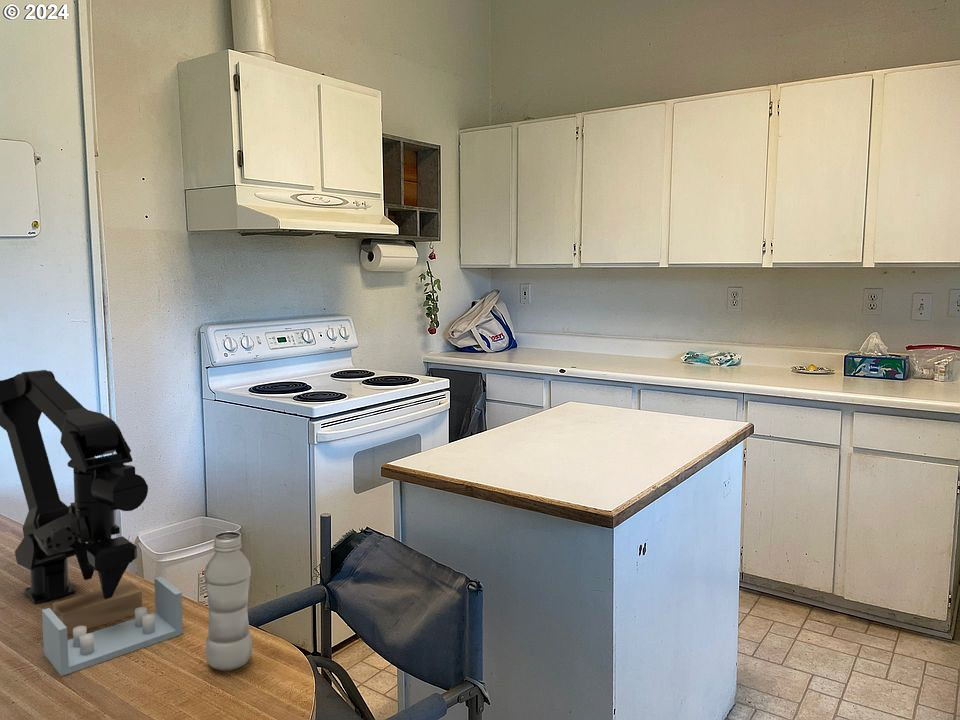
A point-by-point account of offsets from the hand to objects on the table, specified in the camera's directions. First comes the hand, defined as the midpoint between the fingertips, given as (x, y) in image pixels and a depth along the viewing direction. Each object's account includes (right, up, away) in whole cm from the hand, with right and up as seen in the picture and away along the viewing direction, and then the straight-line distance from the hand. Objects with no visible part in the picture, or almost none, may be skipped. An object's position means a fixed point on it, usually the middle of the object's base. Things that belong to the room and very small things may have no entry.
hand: (97, 588), depth 119 cm
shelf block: (0, -5, +1) cm, 6 cm away
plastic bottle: (+26, -8, -11) cm, 29 cm away
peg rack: (+6, -6, -7) cm, 11 cm away
